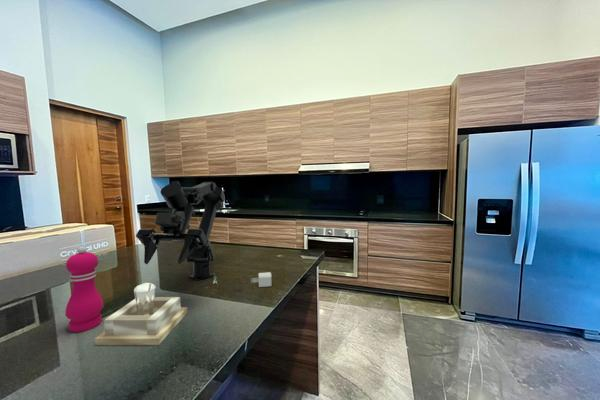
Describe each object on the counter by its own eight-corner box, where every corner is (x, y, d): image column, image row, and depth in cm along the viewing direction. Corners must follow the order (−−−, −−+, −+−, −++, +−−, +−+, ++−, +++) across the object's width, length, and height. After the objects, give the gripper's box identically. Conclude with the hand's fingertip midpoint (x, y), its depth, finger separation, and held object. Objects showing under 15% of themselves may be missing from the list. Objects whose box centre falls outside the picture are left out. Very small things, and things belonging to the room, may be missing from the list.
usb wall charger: (271, 287, 86) (271, 275, 86) (251, 288, 85) (250, 276, 85) (270, 282, 90) (270, 271, 90) (251, 283, 89) (251, 272, 89)
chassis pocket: (136, 312, 69) (136, 294, 68) (187, 312, 69) (187, 294, 68) (95, 345, 55) (93, 323, 54) (158, 345, 55) (157, 323, 54)
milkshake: (141, 328, 58) (139, 286, 58) (132, 321, 62) (130, 281, 61) (161, 320, 62) (160, 280, 61) (151, 313, 65) (150, 276, 65)
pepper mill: (81, 318, 66) (77, 243, 65) (110, 316, 67) (107, 242, 65) (57, 334, 59) (52, 250, 58) (90, 332, 59) (86, 250, 58)
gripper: (138, 201, 73) (111, 248, 63) (202, 201, 73) (186, 248, 63) (155, 224, 81) (134, 268, 71) (212, 223, 81) (199, 268, 71)
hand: (162, 263), depth 69 cm, fingers open, 9 cm apart
